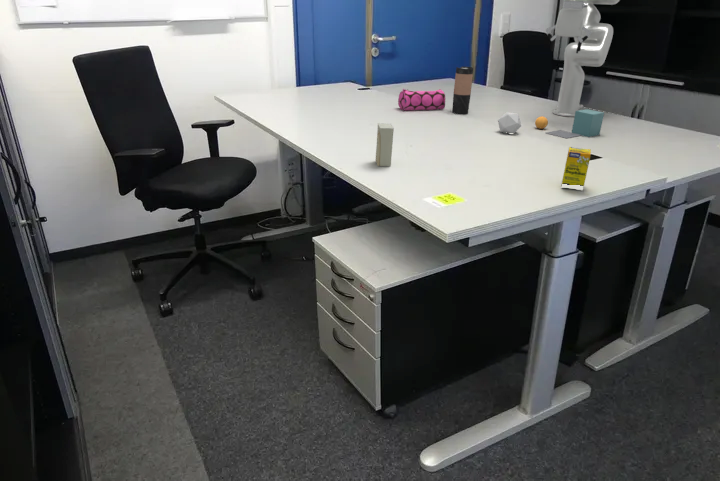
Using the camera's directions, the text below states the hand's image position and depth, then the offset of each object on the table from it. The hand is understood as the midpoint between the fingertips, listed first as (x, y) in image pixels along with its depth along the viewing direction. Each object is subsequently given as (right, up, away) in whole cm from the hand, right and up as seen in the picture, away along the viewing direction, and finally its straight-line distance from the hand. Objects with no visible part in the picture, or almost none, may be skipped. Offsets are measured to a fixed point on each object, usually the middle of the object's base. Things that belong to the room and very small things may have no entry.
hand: (564, 52), depth 220 cm
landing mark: (-2, -34, -3) cm, 34 cm away
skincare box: (-75, -52, -48) cm, 104 cm away
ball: (-8, -28, +4) cm, 29 cm away
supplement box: (-22, -61, -63) cm, 90 cm away
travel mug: (-37, -18, +29) cm, 50 cm away
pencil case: (-54, -16, +33) cm, 65 cm away
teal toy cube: (+8, -33, -1) cm, 34 cm away
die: (-24, -34, -4) cm, 41 cm away
